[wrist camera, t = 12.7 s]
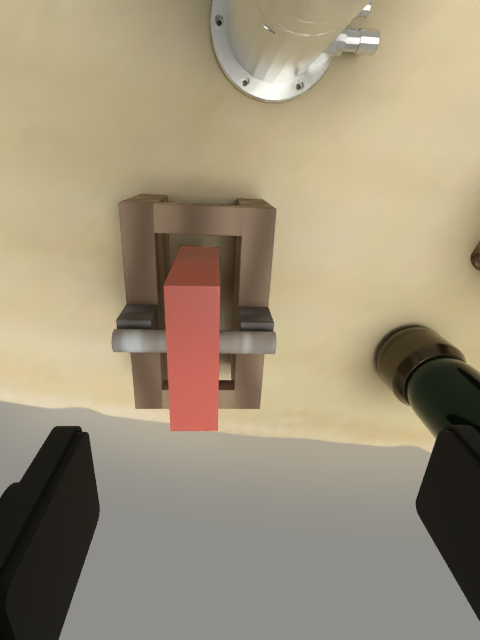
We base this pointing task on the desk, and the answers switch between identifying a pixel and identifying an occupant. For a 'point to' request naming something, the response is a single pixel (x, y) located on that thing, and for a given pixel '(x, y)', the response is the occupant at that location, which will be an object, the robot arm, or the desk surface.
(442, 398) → the lamp
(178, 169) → the desk surface
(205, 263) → the red arch block
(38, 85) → the desk surface
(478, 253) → the book
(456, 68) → the desk surface
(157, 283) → the tan hollow frame
